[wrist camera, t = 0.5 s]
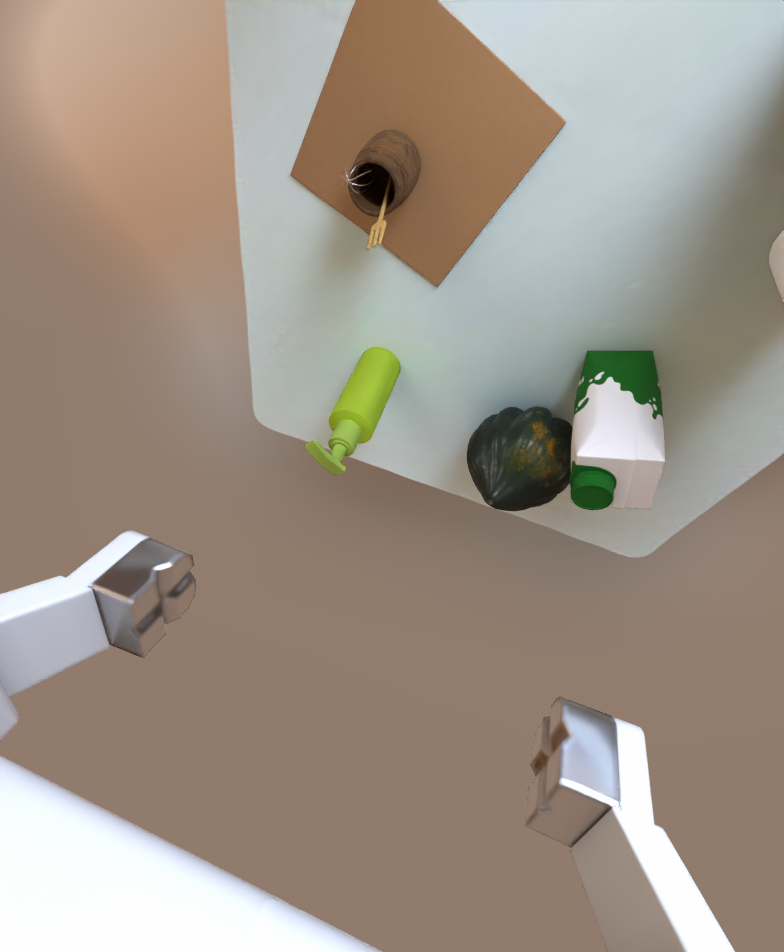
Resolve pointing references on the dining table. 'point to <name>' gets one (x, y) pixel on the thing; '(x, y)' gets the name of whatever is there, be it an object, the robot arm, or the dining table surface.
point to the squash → (520, 458)
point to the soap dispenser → (358, 408)
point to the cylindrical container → (778, 262)
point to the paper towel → (425, 127)
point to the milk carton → (617, 432)
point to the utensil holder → (383, 176)
